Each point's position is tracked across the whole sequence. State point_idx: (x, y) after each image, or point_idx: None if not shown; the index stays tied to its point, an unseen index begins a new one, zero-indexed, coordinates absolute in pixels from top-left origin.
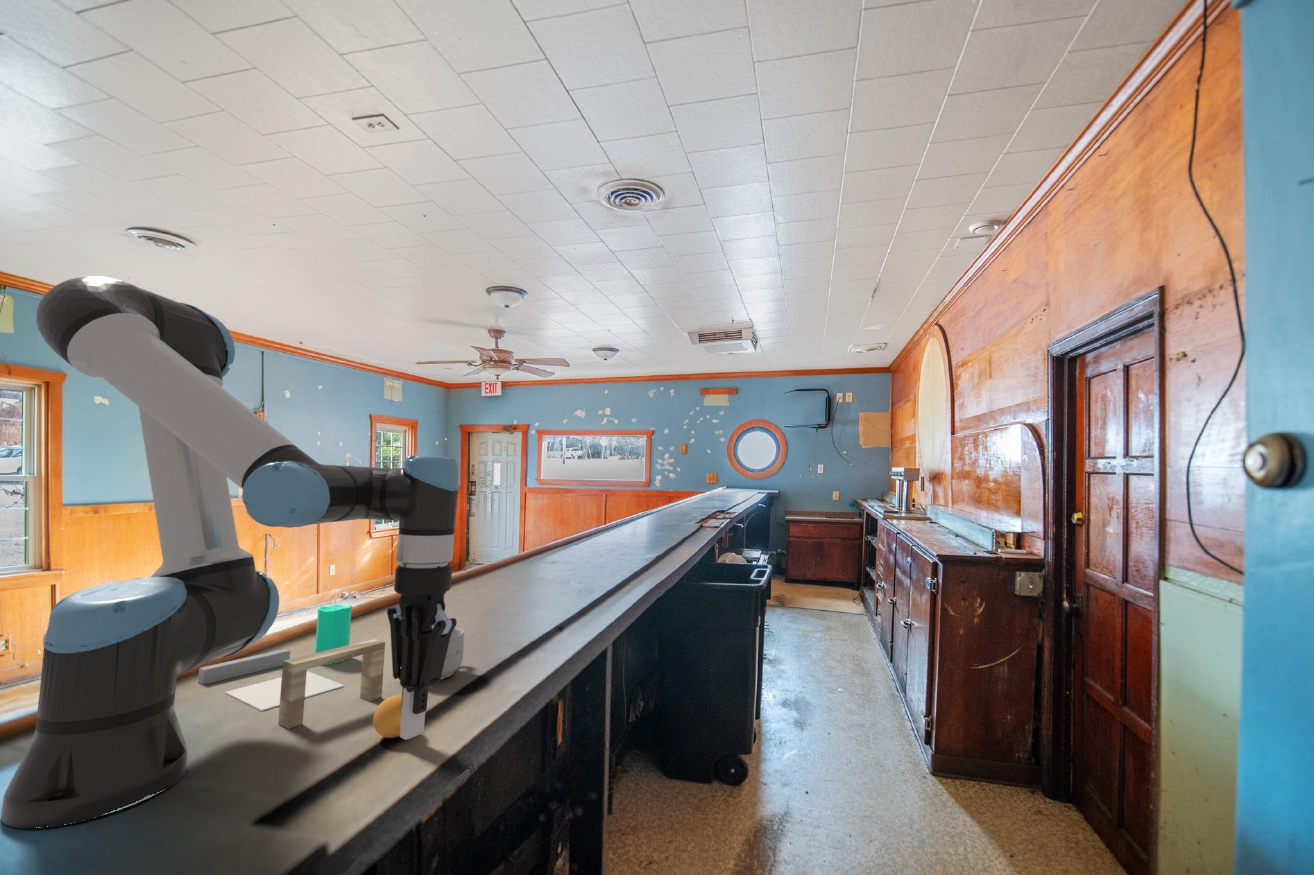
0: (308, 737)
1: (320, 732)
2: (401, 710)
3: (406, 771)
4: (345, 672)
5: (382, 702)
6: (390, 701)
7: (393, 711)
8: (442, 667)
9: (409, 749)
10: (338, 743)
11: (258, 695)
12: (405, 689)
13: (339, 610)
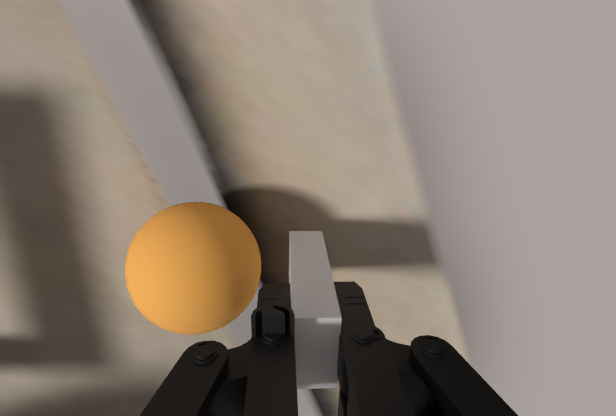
0: (42, 356)
1: (29, 330)
2: (246, 295)
3: (404, 315)
4: None
5: (161, 326)
6: (194, 323)
7: (234, 315)
8: (506, 409)
9: None
10: (136, 333)
11: None
12: (306, 387)
13: None
